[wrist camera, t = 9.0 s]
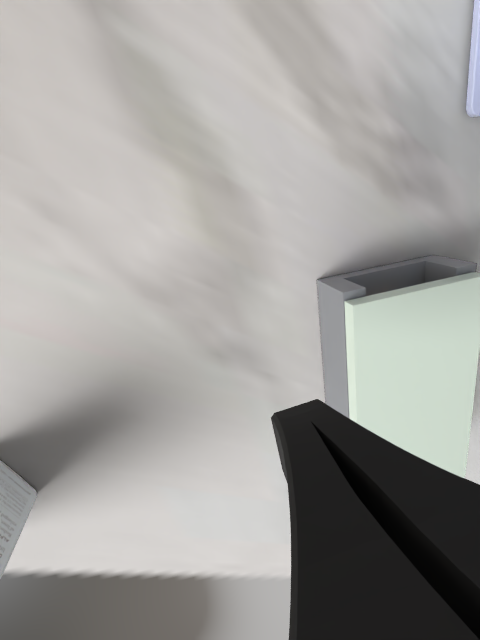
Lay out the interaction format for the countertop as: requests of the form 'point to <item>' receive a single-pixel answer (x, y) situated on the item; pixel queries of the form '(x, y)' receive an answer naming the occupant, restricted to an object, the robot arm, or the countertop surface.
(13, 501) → the skincare box
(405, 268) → the grey open tray
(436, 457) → the cover
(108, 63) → the countertop surface
